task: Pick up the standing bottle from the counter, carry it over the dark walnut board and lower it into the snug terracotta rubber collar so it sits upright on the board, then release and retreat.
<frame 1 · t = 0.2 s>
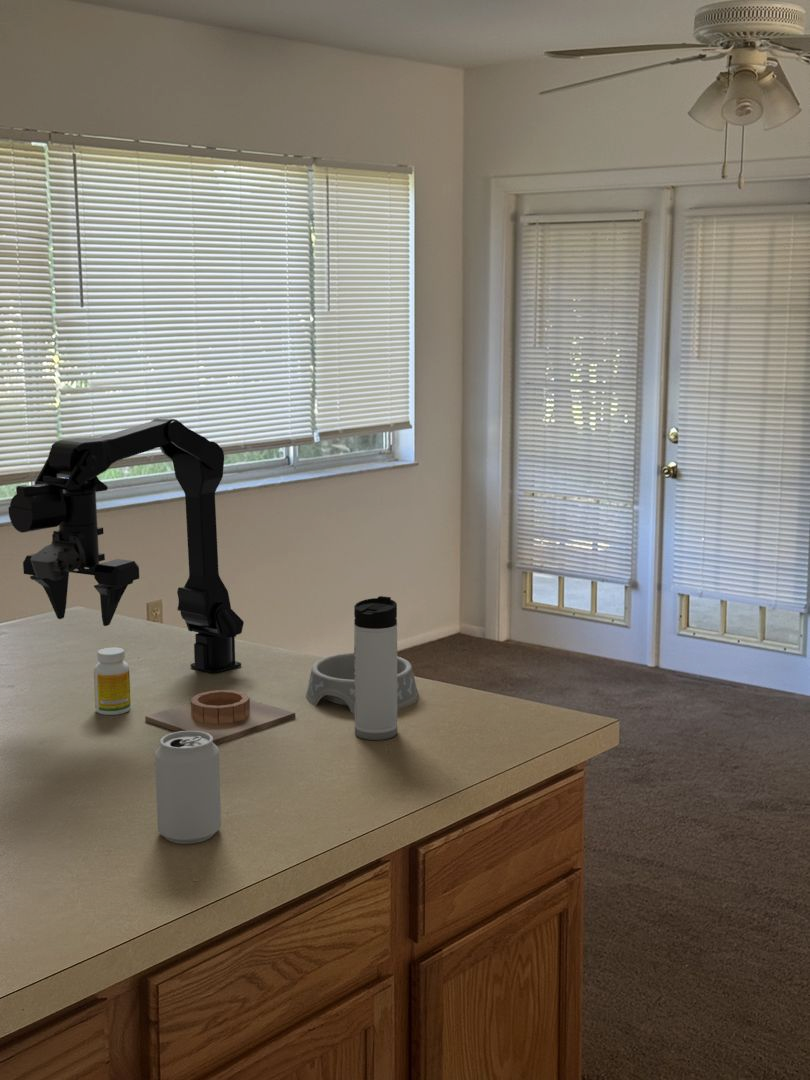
hand: (83, 622, 194), 14 cm above the worktop, fingers open, 9 cm apart
collar board: (220, 719, 191), on the worktop
travel mug: (376, 734, 185), on the worktop
can: (189, 835, 150), on the worktop
supplement bottle: (113, 711, 195), on the worktop
dog bowl: (362, 698, 203), on the worktop
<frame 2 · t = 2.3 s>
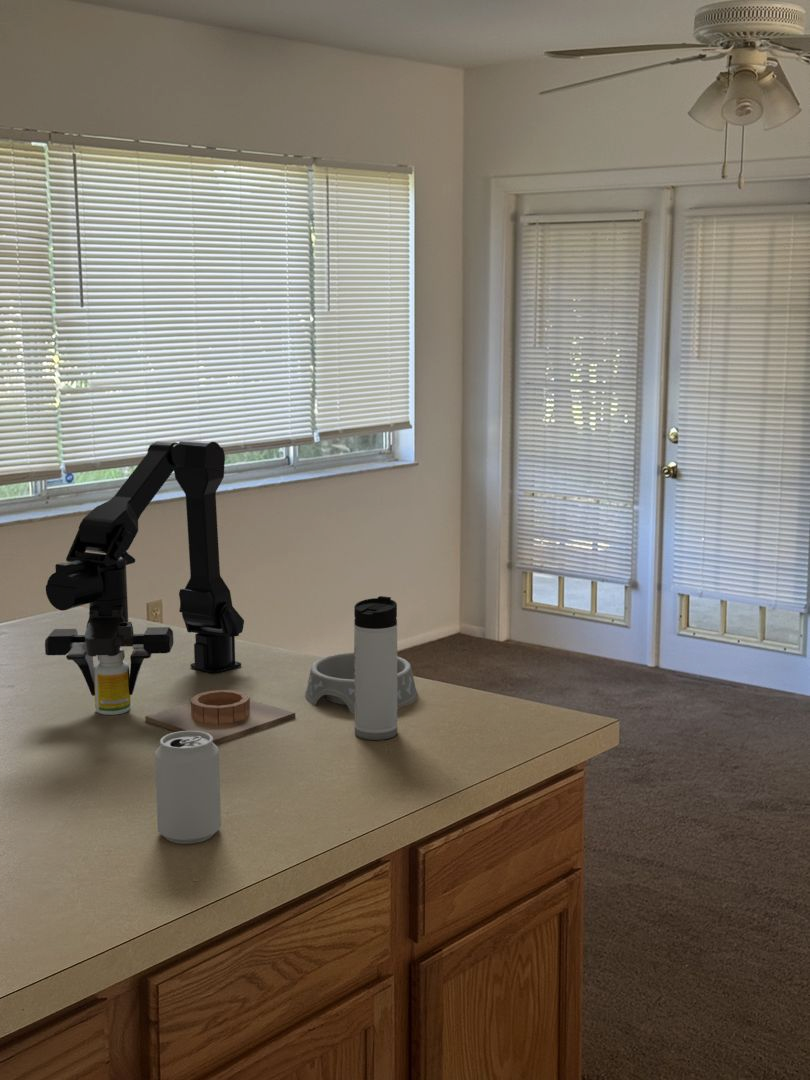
hand: (112, 694, 195), 3 cm above the worktop, fingers closed on supplement bottle, 5 cm apart
supplement bottle: (113, 711, 195), on the worktop, touching gripper
everything else where it was.
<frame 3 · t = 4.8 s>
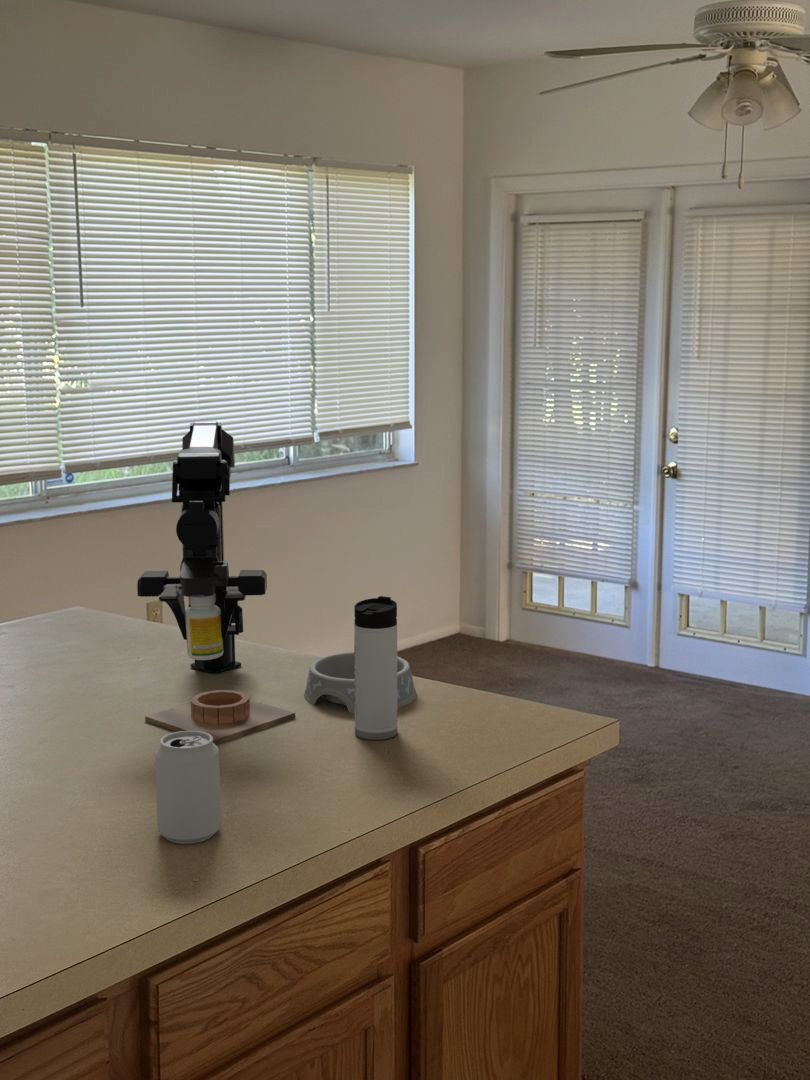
hand: (204, 638, 189), 13 cm above the worktop, fingers closed on supplement bottle, 5 cm apart
supplement bottle: (206, 657, 189), point 10 cm above the worktop, touching gripper
everything else where it was.
when the fingers open (5 cm above the worktop, at t = 7.3 s): supplement bottle drops 1 cm, resting on collar board.
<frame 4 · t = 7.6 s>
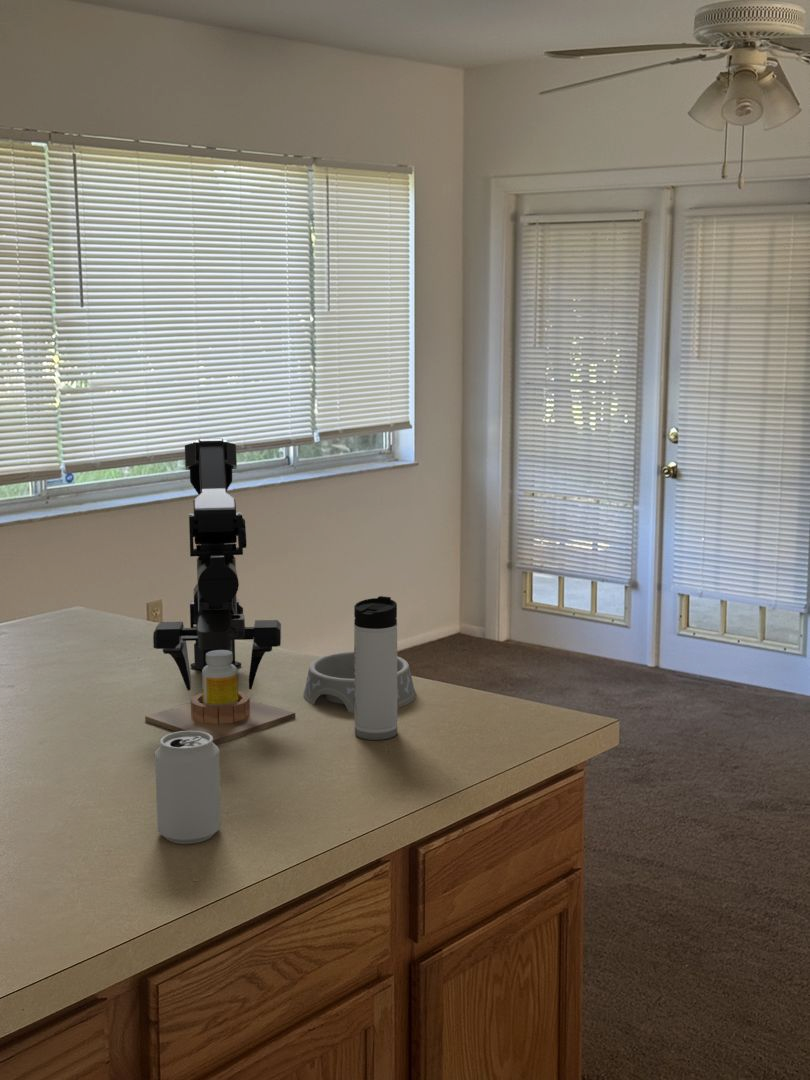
hand: (219, 689, 190), 5 cm above the worktop, fingers open, 9 cm apart
supplement bottle: (221, 715, 191), point 1 cm above the worktop, touching collar board
everything else where it was.
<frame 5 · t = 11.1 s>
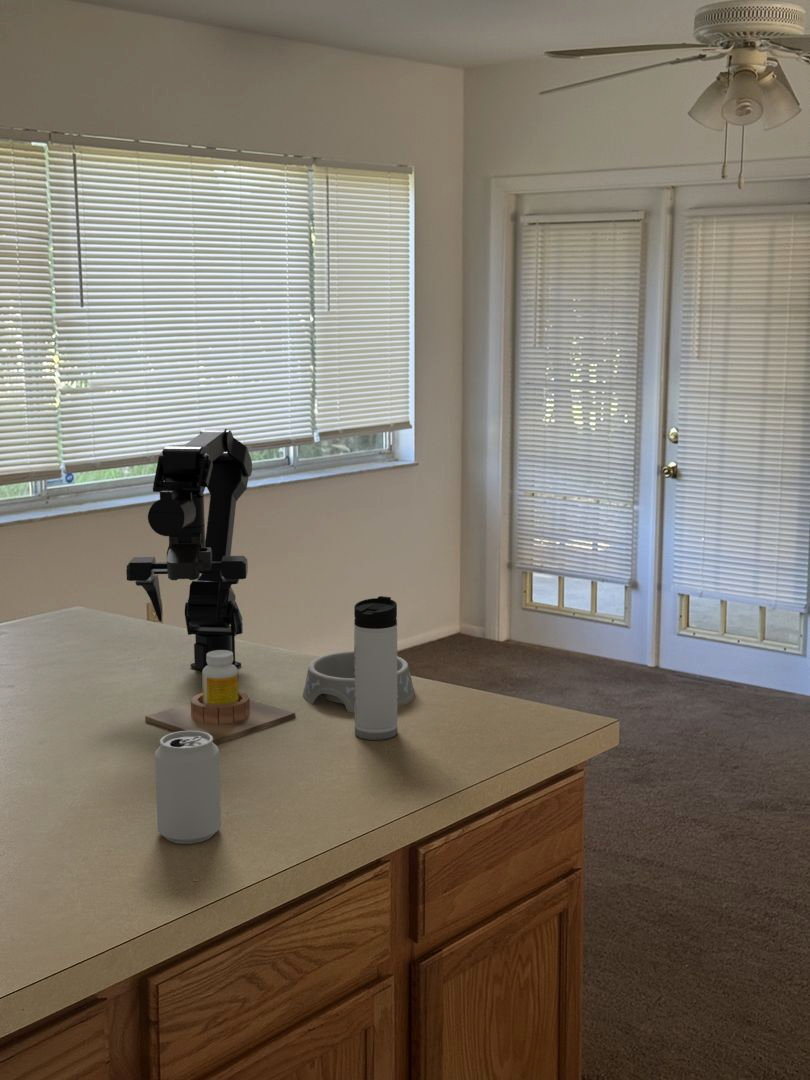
hand: (189, 620, 202), 12 cm above the worktop, fingers open, 9 cm apart
nothing on the worktop moved.
at the end: supplement bottle 0.1 cm off-centre on the collar board, point 0.6 cm above the collar board's base; supplement bottle tilted 0°; the gripper is holding nothing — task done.
